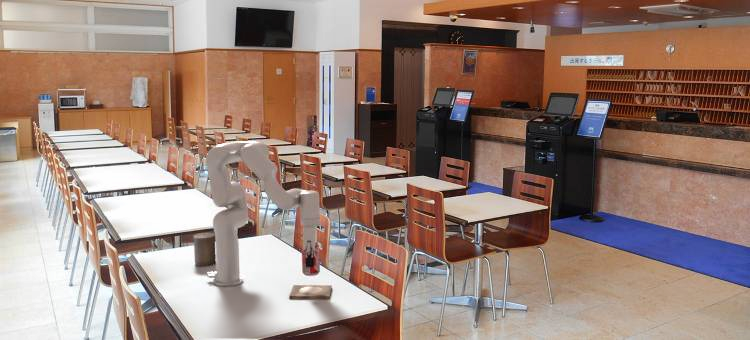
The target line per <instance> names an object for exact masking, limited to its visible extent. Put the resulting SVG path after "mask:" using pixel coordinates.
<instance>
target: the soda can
mask: <svg viewBox="0 0 750 340" xmlns="http://www.w3.org/2000/svg"><path fill="white" fill-rule="evenodd" d="M310 250H312V248H311V249H310ZM311 254H312V251H311ZM313 257H314V267H306V250H304V251H303V244H302V246H301V261H302V262H301V267H302V270H301V271H302V274H303V275H304V276H308V277H315V276H318V275H319V273H320V272H321V267H320V266H321V265H320V263H321V262H320V260H321V259H320V245H319V242H318V241H317V243H316V246H315V250H314V251H313Z"/></svg>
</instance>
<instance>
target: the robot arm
mask: <svg viewBox="0 0 750 340" xmlns="http://www.w3.org/2000/svg"><path fill="white" fill-rule="evenodd" d="M269 157H270V149H269V147H268V145H266V144H265V143H263V142H261V141H241V140H240V141H239V140H238V141H237V140H236V141H232V142H225V143H221V144H217V145H215V146H213V147H212V148H211V149H210V150H209V151H208V152H207V154H206V157H205V166H206V169H207V173H208V179H209V186H210V191H211V192H210V193H211V196H212V201H213V204H214V206H216V207H217V208H218V207H219V208H225V207H227V208H226V209H223V210H221V211H219V212H217V213H216V214H215V216H214V217H213V219H212V227H213V231H214V235H215V254H216V271H214V272H213V271H207V272H206V277H208V278H209V279H212V278H213V281H212V283H213V285H216V286H220V287H231V286H233V287H234V286H237V285H240V284H242V283H243V282H244V277H243V276H242V275H240V273H241V272H240V247H239V245H240V242H239V237H238V234H237V232H236V231H237V229H239V228H240V229H241V228H243V227H244V226H246V224H247V223H248V221H249V210H248V203H247V197H246V191H245V190H244V187H243V186H242V185H241V184H240V183H239V182H237V181H231V176H230V175H231V174H230V172H229V169H228V168H227V166H226V165H228V164H233V163H236V162H243V163H244V164H245V166H247V167H248V169H249V170H250V171H251V172H252V173H253V174H254V175H255V176H256V177H257V178H258V179H259V180H260V181H261V183H262V187H263V190H264V192H265V195H266V196H267V197H268V198H269V200H270V201H271V202H272V204H274V205H275V206H276V207H277V208H278V209H279V210H280V209H281V210H283V211H287V212H288V211H291V210H294V209H297V208H299V207H300V226H301V227H303V229H302V245H303V251H304V250H306V267H314V257H313V251H314V250H315V246H316V243H317V242H318V241H317V240H318V230H317V229H318V227H319V226H320V224H321V223H320V221H321V220H320V194H319V192H318V191H317V190H307V189H306V190H305V189H302V188H298V187H297V188H296V187H295V188H291V189H289V190H285V189H284V188H283V187H282V185H280V183H279V182H278V180H277V173H278V167H277V165H276V164H275V163H274V162H273V161H272V160H271V159H270V158H269ZM311 248H312V250H310V249H311ZM311 251H312V254H311Z"/></svg>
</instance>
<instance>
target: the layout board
mask: <svg viewBox="0 0 750 340" xmlns="http://www.w3.org/2000/svg"><path fill="white" fill-rule="evenodd" d="M332 286H333V285H331V284H330V285H324V284H323V285H322V284H321V285H320V284H319V285H313V284H309V285H308V284H301V285H300V284H293V286H292V288H291V290H290V293H289V296H288V299H289V300H329V299H330V297H331V292H332Z"/></svg>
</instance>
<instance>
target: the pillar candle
mask: <svg viewBox="0 0 750 340" xmlns="http://www.w3.org/2000/svg"><path fill="white" fill-rule="evenodd" d="M193 248H194V263H195V264H194V265H195V266H196V265H197V266H196V267H211V266H214V265H215V264H217V262H216V239H215V233H211V232H201V233H196V234H194V235H193ZM213 264H214V265H213ZM210 265H211V266H210Z"/></svg>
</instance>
